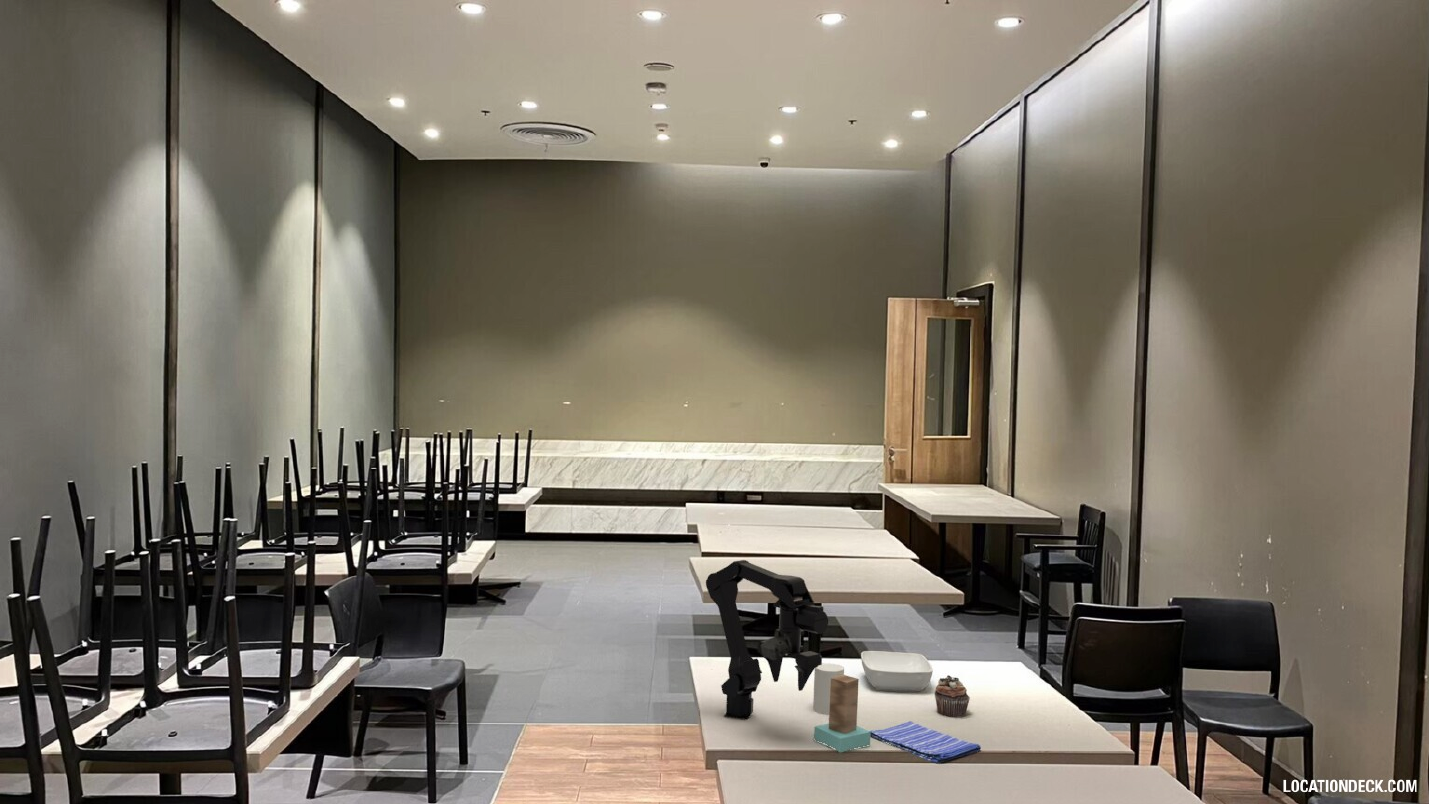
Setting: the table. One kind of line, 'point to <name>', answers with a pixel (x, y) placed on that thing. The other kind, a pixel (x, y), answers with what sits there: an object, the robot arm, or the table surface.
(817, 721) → the table surface
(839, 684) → the walnut pillar
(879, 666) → the square bowl
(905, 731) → the dish towel
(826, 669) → the cup
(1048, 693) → the table surface
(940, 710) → the cupcake
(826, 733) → the teal plinth
